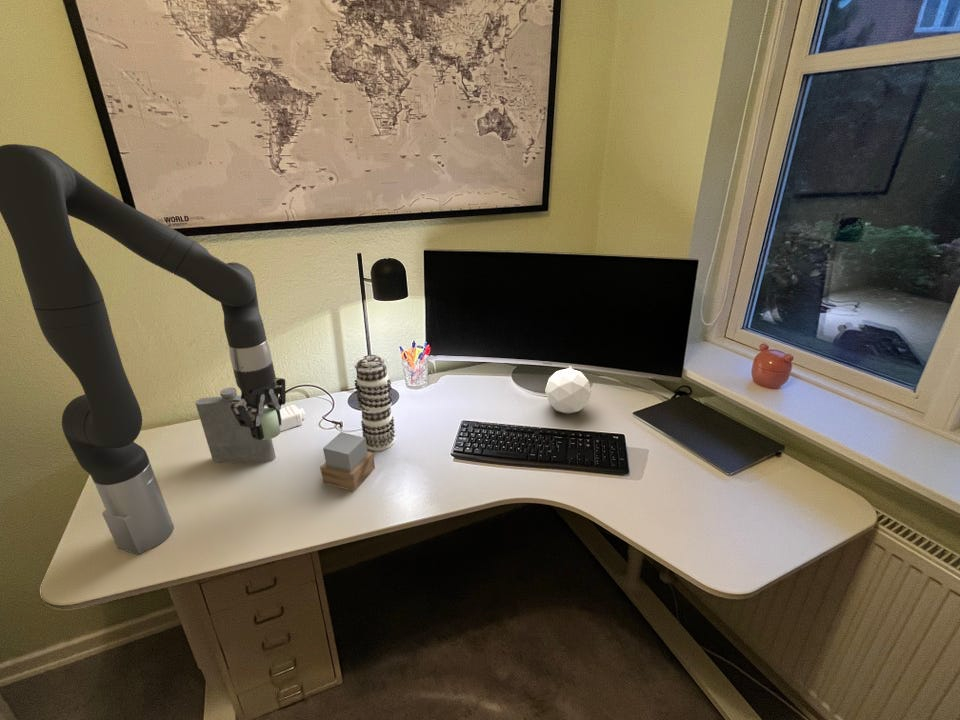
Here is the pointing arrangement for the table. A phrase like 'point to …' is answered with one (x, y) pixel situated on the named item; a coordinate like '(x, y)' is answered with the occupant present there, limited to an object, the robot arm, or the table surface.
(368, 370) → the decorative candle
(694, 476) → the table surface
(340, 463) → the gray block
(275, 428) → the rounded mint cylinder
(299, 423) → the white bottle
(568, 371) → the geodesic sphere
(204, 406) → the hip flask
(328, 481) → the base block
